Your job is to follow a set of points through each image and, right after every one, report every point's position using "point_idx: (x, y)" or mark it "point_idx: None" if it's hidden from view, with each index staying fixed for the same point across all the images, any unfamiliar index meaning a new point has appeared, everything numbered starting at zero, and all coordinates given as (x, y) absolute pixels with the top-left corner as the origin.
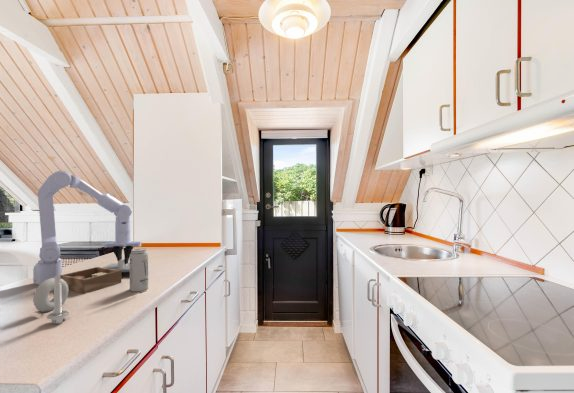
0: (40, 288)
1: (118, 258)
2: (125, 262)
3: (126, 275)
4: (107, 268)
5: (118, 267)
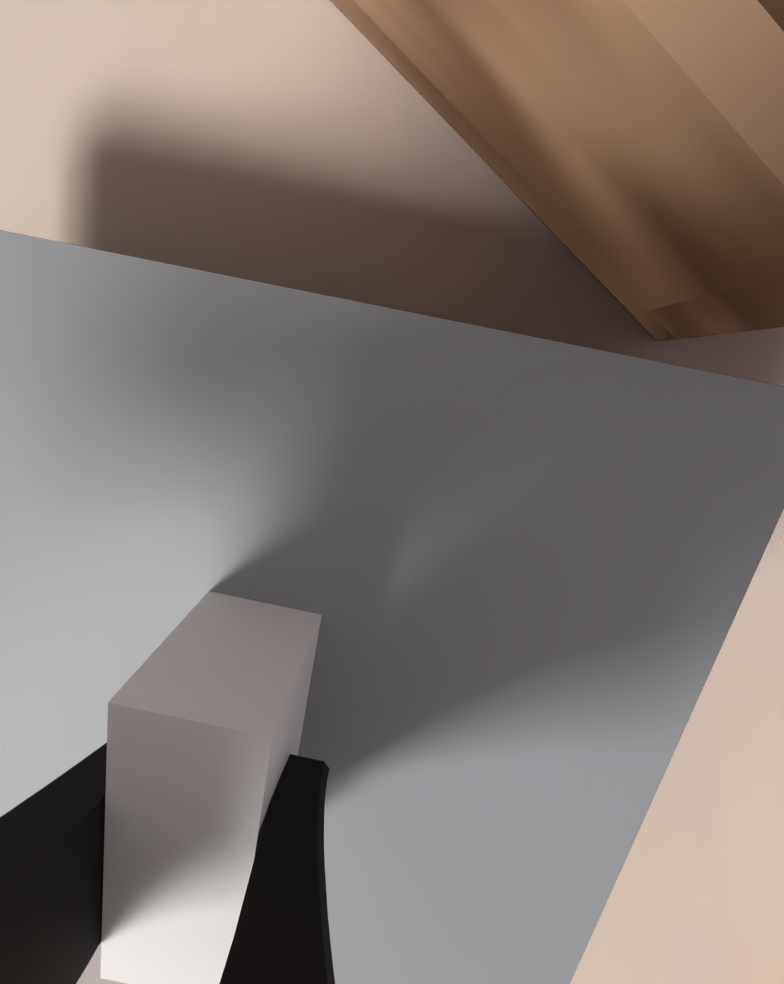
0: None
1: (263, 896)
2: None
3: None
4: (549, 594)
5: (308, 610)
